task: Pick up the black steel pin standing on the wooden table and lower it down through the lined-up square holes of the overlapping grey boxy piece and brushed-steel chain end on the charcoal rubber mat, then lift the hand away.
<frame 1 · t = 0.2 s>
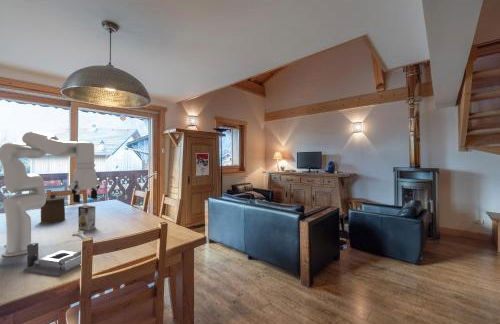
hand: (85, 200, 115), 31 cm above the table, tool pointing down, fingers open, 9 cm apart
charcoal mat: (58, 265, 110), on the table
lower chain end: (57, 260, 110), on the charcoal mat, point 3 cm above the table
coffee box: (87, 228, 166), on the table
grey boxy piece: (63, 259, 109), on the charcoal mat, point 4 cm above the table
black steel pin: (33, 265, 110), on the table
wooden container: (53, 220, 185), on the table
adjustable wrench: (81, 238, 148), on the table
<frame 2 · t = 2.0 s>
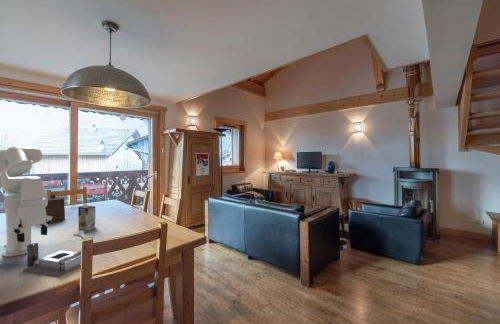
hand: (33, 238, 109), 13 cm above the table, tool pointing down, fingers open, 9 cm apart
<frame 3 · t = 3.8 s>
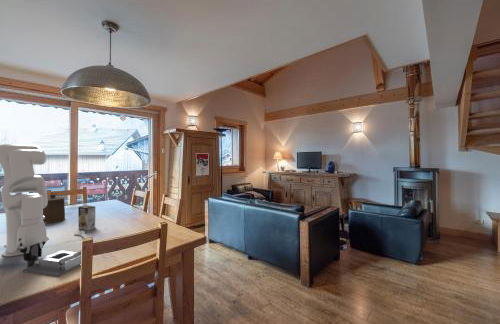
hand: (32, 258, 110), 3 cm above the table, tool pointing down, fingers closed on black steel pin, 4 cm apart
black steel pin: (33, 265, 110), on the table, touching gripper
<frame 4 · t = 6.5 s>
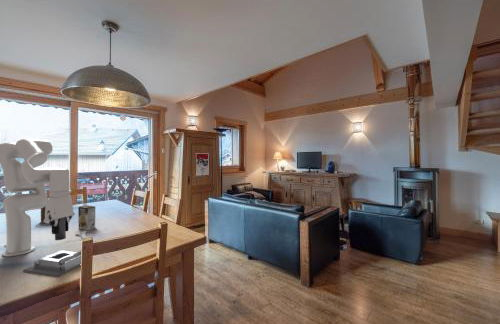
hand: (60, 232, 109), 17 cm above the table, tool pointing down, fingers closed on black steel pin, 4 cm apart
black steel pin: (60, 238, 109), point 13 cm above the table, touching gripper
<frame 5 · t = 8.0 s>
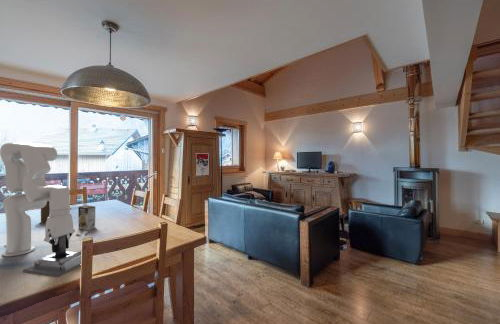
hand: (60, 249, 109), 8 cm above the table, tool pointing down, fingers closed on black steel pin, 4 cm apart
black steel pin: (60, 256, 109), point 5 cm above the table, touching gripper
when the fingers open (6 cm above the table, at t = 9.1 s): black steel pin drops 1 cm, resting on charcoal mat.
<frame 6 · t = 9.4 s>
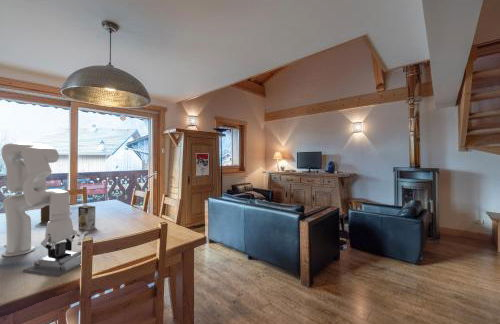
hand: (60, 253, 109), 6 cm above the table, tool pointing down, fingers open, 7 cm apart
black steel pin: (60, 264, 109), point 1 cm above the table, touching charcoal mat
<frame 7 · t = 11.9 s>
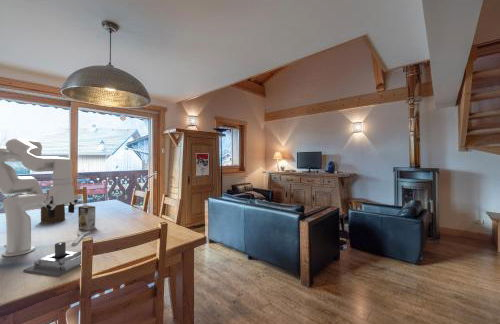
hand: (61, 214, 117), 23 cm above the table, tool pointing down, fingers open, 9 cm apart
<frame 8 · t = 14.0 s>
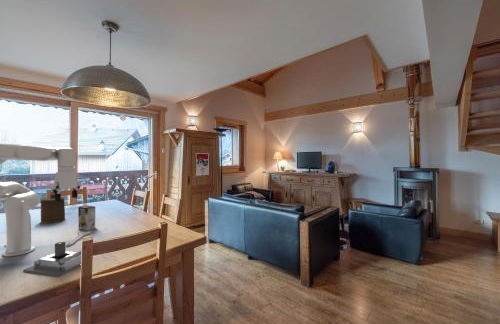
hand: (66, 199, 130), 28 cm above the table, tool pointing down, fingers open, 9 cm apart
at the end: black steel pin 0.1 cm off-centre on the grey boxy piece, point 1.1 cm above the grey boxy piece's base; black steel pin tilted 2°; the gripper is holding nothing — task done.
